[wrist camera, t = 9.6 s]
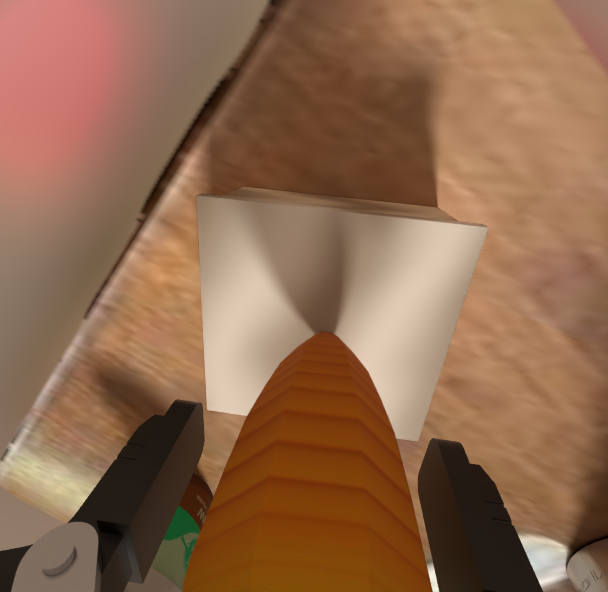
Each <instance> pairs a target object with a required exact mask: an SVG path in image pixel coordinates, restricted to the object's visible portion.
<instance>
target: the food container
mask: <svg viewBox="0 0 608 592" xmlns="http://www.w3.org/2000/svg"><path fill="white" fill-rule="evenodd" d="M212 500H213V495H212V492H211V491H210V489H209V487H208V486H207V485H206V483H205V482H204V481H203V480H202V479H201V478H199V477H198V476H197V475H195V474H194V473H193V475H192V477H191V479H190V482H189V484H188V486H187V488H186V490H185V493H184V495H183V497H182V499H181V501H180V504H179V506H178V508H177V510H176V512H175V515H174V517H173V519H172V521H171V523H170V526H169V528H168V530H167V532H166V534H165V536H164V539H163V541H162V543H161V545H160V547H159V550H158V552H157V554H156V556H155V558H154V561H153V563H152V565H151V567H150V569H149V572H148V574H147V576H146V578H145V580H144V583H143V584H139V583H133V582H128V584H127V586H126V588H125V590H124V592H182V591H183V583H184V579H185V575H186V572H187V568H188V564H189V561H190V557H191V554H192V552H193V549H194V547H195V544H196V542H197V539H198V536H199V534H200V531H201V529H202V526H203V523H204V521H205V518H206V516H207V513H208V510H209V508H210V505H211V503H212Z"/></svg>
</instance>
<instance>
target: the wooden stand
mask: <svg viewBox="0 0 608 592" xmlns="http://www.w3.org/2000/svg"><path fill="white" fill-rule="evenodd" d="M196 200H197V220H198V239H199V259H200V278H201V298H202V317H203V337H204V356H205V376H206V395H207V410H211V411H218V412H225V413H231V414H238V415H245V416H247V415H248V413H249V412H250V410H251V408H252V407H253V405H254V403H255V401H256V400H257V398H258V396H259V395H260V393H261V391H262V390H263V388H264V386H265V385H266V383H267V382H268V380H269V379H270V377H271V376H272V374H273V373H274V371H275V370H276V368H277V367H278V366H279V364H280V363H281V361H283V360H284V359H285V358H286V357H287V356H288V355H289V354H290V353H291V352H292V351H293V350H294V349H296V348H297V347H298V346H299V345H301V344H302V343H304V342H305V341H306V340H308V339H309V338H311V337H312V336H313V335H315V334H317V333H319V332H321V331H323V332H332V333H333V334H335V335H336V336H338V337H339V338H340V339H341V340H342V341H343V342H344V343H345V344H346V345H347V346H348V348H349V349H350V350H351V351H352V352H353V353H354V354H355V355H356V357H357V358H358V359H359V360H360V362H361V363H362V364H363V365H364V367H365V368H366V369H367V371H368V372H369V375H370V377H371V379H372V381H373V383H374V385H375V387H376V389H377V391H378V393H379V396H380V398H381V400H382V403H383V405H384V408H385V410H386V413H387V415H388V417H389V420H390V422H391V425H392V427H393V430H394V432H395V436H396V438H398V439H405V440H411V441H418V439H419V436H420V433H421V430H422V427H423V424H424V421H425V418H426V415H427V412H428V409H429V406H430V403H431V400H432V396H433V393H434V390H435V387H436V384H437V381H438V378H439V375H440V372H441V369H442V366H443V363H444V360H445V357H446V354H447V351H448V348H449V345H450V342H451V339H452V336H453V333H454V330H455V327H456V324H457V321H458V318H459V315H460V312H461V309H462V306H463V303H464V300H465V297H466V294H467V291H468V288H469V285H470V282H471V279H472V275H473V272H474V269H475V266H476V263H477V260H478V257H479V254H480V251H481V248H482V245H483V242H484V239H485V236H486V233H487V230H488V227H487V226H485V225H483V224H477V223H468V222H459V221H458V220H456V219H455V218H453V217H452V216H450V215H449V214H447V213H446V212H444V211H443V210H441V209H440V208H438V207H430V206H421V205H411V204H402V203H392V202H383V201H374V200H364V199H355V198H346V197H336V196H327V195H318V194H308V193H299V192H290V191H280V190H271V189H261V188H252V187H242V188H239V189H237V190H235V191H232V192H230V193H228V194H225V195H223V196H220V195H211V194H199V195H196Z"/></svg>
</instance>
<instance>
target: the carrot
mask: <svg viewBox="0 0 608 592" xmlns="http://www.w3.org/2000/svg"><path fill="white" fill-rule="evenodd" d="M182 592H433V591H432V587H431V583H430V578H429V574H428V569H427V565H426V560H425V556H424V552H423V547H422V543H421V538H420V534H419V529H418V525H417V521H416V516H415V512H414V507H413V503H412V498H411V494H410V490H409V486H408V483H407V479H406V475H405V471H404V467H403V463H402V459H401V455H400V452H399V448H398V444H397V440H396V436H395V432H394V430H393V427H392V425H391V422H390V420H389V417H388V415H387V413H386V410H385V408H384V405H383V403H382V400H381V398H380V396H379V393H378V391H377V389H376V387H375V385H374V383H373V381H372V379H371V377H370V375H369V372H368V371H367V369H366V368H365V367H364V365H363V364H362V363H361V362H360V360H359V359H358V358H357V357H356V355H355V354H354V353H353V352H352V351H351V350H350V349H349V348H348V346H347V345H346V344H345V343H344V342H343V341H342V340H341V339H340V338H339V337H338V336H336V335H335V334H333V333H332V332H323V331H321V332H319V333H317V334H315V335H313V336H312V337H311V338H309V339H308V340H306V341H305V342H304V343H302V344H301V345H299V346H298V347H297V348H296V349H294V350H293V351H292V352H291V353H290V354H289V355H288V356H287V357H286V358H285V359H284V360H283V361H281V363H280V364H279V366H278V367H277V368H276V370H275V371H274V373H273V374H272V376H271V377H270V379H269V380H268V382H267V383H266V385H265V386H264V388H263V390H262V391H261V393H260V395H259V396H258V398H257V400H256V401H255V403H254V405H253V407H252V408H251V410H250V412H249V413H248V415H247V417H246V420H245V422H244V424H243V427H242V429H241V431H240V434H239V436H238V439H237V441H236V443H235V446H234V448H233V450H232V453H231V455H230V457H229V460H228V462H227V465H226V467H225V469H224V472H223V474H222V477H221V479H220V482H219V485H218V487H217V490H216V492H215V495H214V498H213V500H212V503H211V505H210V508H209V510H208V513H207V516H206V518H205V521H204V523H203V526H202V529H201V531H200V534H199V536H198V539H197V542H196V544H195V547H194V549H193V552H192V554H191V557H190V561H189V564H188V568H187V572H186V575H185V579H184V583H183V591H182Z"/></svg>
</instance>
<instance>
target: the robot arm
mask: <svg viewBox="0 0 608 592" xmlns="http://www.w3.org/2000/svg"><path fill="white" fill-rule="evenodd" d="M203 446H204V420H203V406H202V403H199V402H192V401H185V400H179V399H177V400H175V401H174V402H173V404H172V405H171V407H170V408H169V410H168V411H167V413H166V414H165V416H161V415H154V416H152V417H151V418H150V419H149V420H147V421H146V422H145V423H143V424H142V425H141V426H139V427H138V429H137V430H136V431H135V433H134V434H133V435H132V437H131V438H130V440H129V441H128V442H127V445H126V446H125V447H124V448H123V449H122V451H121V452H120V453H119V455H118V457H117V459H116V460H114V462H113V463H112V465H111V466H110V467H109V469H108V470H107V471H106V473H105V474H104V476H103V477H102V478H101V480H100V481H99V483H98V484H97V485H96V487H95V488H94V489H93V491H92V492H91V494H90V495H89V496H88V498H87V499H86V500H85V502H84V503H83V505H82V506H81V507H80V509H79V510H78V512H77V513H76V514H75V515H74V517H73V518H72V519H71V520H70V521H69V522H68V523H67V524H64V525H61V526H59V527H57V528H55V529H53V530H51V531H49V532H48V533H46V534H45V535H44V536H42V537H41V538H40V539H39V540H37V541H36V542H35V543H34V544H32V545H29V546H25V547H21V548H15V549H10V550H5V551H0V592H124V590H125V588H126V586H127V584H128V582H133V583H139V584H143V583H144V580H145V578H146V576H147V574H148V572H149V569H150V567H151V565H152V563H153V561H154V558H155V556H156V554H157V552H158V550H159V547H160V545H161V543H162V541H163V539H164V536H165V534H166V532H167V530H168V528H169V526H170V523H171V521H172V519H173V517H174V515H175V512H176V510H177V508H178V506H179V504H180V501H181V499H182V497H183V495H184V493H185V490H186V488H187V486H188V484H189V482H190V479H191V477H192V475H193V473H194V471H195V468H196V466H197V464H198V462H199V460H200V457H201V454H202V451H203ZM418 494H419V499H420V503H421V508H422V513H423V517H424V522H425V527H426V531H427V536H428V541H429V545H430V550H431V555H432V559H433V564H434V569H435V573H436V578H437V583H438V587H439V592H543V590H542V588H541V586H540V584H539V581H538V579H537V577H536V575H535V572H534V570H533V568H532V566H531V564H530V561H529V559H528V557H527V555H526V552H525V550H524V548H523V546H522V543H521V541H520V539H519V537H518V534H517V532H516V530H515V528H514V526H512V524H511V522H512V521H511V519H510V516H509V514H508V512H507V510H506V508H504V503H503V501H502V498H501V496H500V494H499V492H498V489H497V487H496V485H495V483H494V482H493V481H492V479H491V478H490V477H489V476H488V475H487V473H486V472H485V471H484V470H483V469H482V467H481V466H480V465H476V464H470V463H469V460H468V458H467V455H466V453H465V450H464V448H463V446H462V444H461V443H459V442H455V441H448V440H442V439H435V438H432V439H431V440H430V443H429V445H428V448H427V451H426V454H425V457H424V459H423V462H422V465H421V468H420V471H419V475H418ZM567 573H568V576H569V578H570V580H571V582H572V584H573V586H574V588H575V590H576V592H608V538H607V539H604V540H601V541H597V542H595V543H592V544H590V545H588V546H586V547H584V548H583V549H581V550H580V551H578V552H577V553H576V554H575V555H574V556H573V557H572V558H571V559H570V561H569V563H568V566H567Z"/></svg>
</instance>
